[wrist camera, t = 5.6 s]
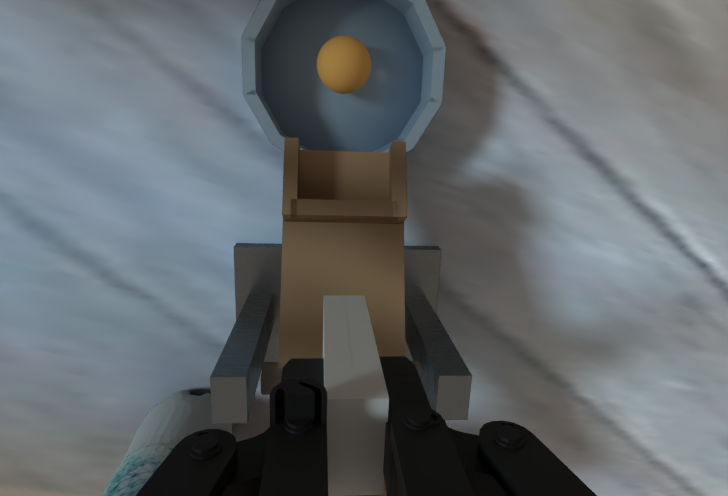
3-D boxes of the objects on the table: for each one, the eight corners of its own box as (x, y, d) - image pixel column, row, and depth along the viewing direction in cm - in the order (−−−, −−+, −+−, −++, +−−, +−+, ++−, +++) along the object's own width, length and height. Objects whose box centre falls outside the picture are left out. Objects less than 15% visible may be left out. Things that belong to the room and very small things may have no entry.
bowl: (424, 170, 32) (436, 175, 28) (254, 164, 31) (244, 169, 27) (437, -17, 29) (452, -36, 25) (249, -29, 28) (238, -50, 25)
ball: (308, 39, 26) (308, 96, 28) (364, 47, 25) (360, 105, 27) (328, 26, 28) (327, 80, 30) (379, 33, 28) (375, 88, 29)
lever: (402, 535, 29) (433, 617, 20) (269, 540, 28) (247, 626, 20) (398, 188, 32) (423, 142, 24) (281, 185, 32) (266, 136, 24)
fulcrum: (428, 361, 35) (478, 476, 24) (240, 362, 34) (196, 483, 23) (437, 246, 33) (497, 310, 22) (236, 243, 32) (185, 309, 20)
